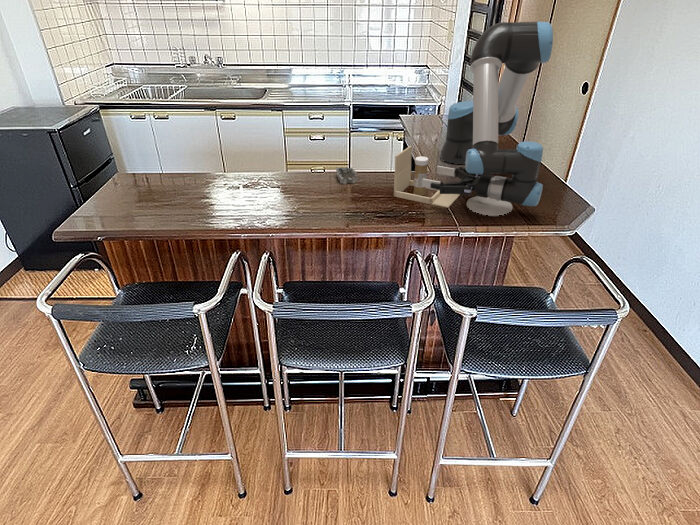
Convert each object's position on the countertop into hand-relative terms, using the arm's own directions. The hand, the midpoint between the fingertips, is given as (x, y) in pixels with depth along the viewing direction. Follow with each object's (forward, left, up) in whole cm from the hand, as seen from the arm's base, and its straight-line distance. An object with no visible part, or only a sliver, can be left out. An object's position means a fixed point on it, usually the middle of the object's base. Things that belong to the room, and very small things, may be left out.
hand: (429, 175), depth 153 cm
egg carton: (+14, -32, -8) cm, 36 cm away
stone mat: (-11, +18, -8) cm, 23 cm away
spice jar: (+1, -4, -8) cm, 9 cm away
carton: (0, -1, -8) cm, 8 cm away
